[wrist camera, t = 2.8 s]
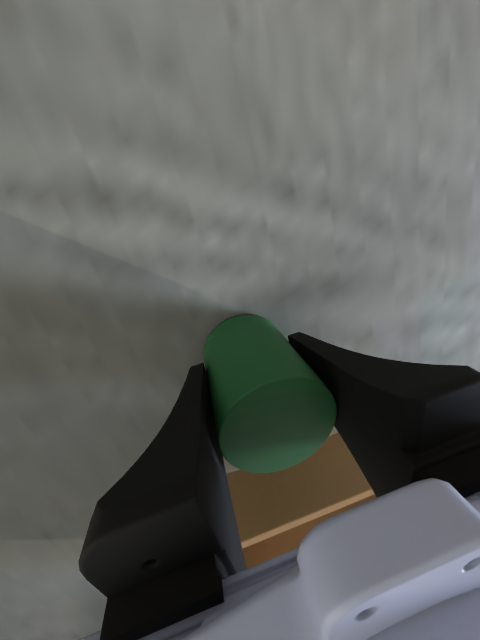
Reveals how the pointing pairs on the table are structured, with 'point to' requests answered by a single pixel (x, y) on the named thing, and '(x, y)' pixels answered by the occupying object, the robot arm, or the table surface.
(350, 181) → the table surface
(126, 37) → the table surface
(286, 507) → the wooden organizer box
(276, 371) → the green cylinder
